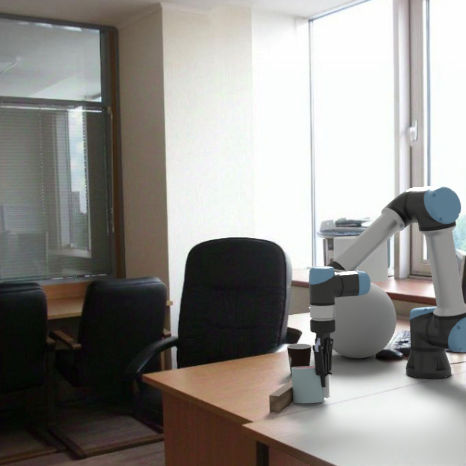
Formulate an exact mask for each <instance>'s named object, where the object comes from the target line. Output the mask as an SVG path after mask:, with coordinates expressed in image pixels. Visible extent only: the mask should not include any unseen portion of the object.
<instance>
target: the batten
mask: <svg viewBox="0 0 466 466" xmlns="http://www.w3.org/2000/svg"><path fill="white" fill-rule="evenodd" d="M268 399H269V400H268V401H269V403H268V404H269V405H268V406H269V413H270V414H271V413H273V414H280V413H282V412H283V411H285V410H286V409H287V408H288V407H290V406H291V405H292V404H294V403H295V402H293V389H292V379H291V380H290V381H288V382H287V383H285V384H284V385H282V386H281V387H279V388H278V389H276V390H275V391H273V392H272V393H270V394H269V396H268Z"/></svg>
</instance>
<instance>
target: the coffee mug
mask: <svg viewBox="0 0 466 466" xmlns="http://www.w3.org/2000/svg"><path fill="white" fill-rule="evenodd" d="M312 346H313V345H311V344H307V343H292V344H288V345H286V349H287V357H288V364H289V371H290V375H291V376H292V371H291V368H293V367H304V366H311V357H312Z"/></svg>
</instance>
